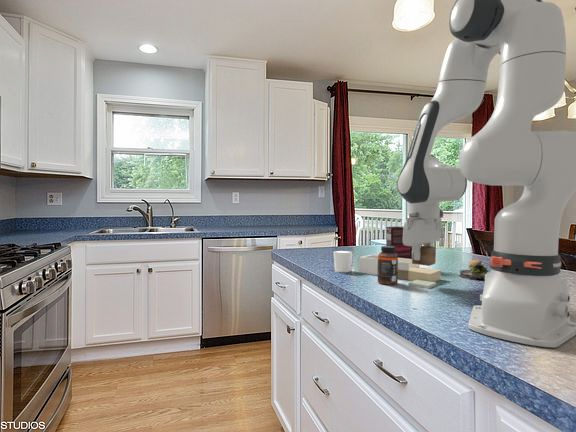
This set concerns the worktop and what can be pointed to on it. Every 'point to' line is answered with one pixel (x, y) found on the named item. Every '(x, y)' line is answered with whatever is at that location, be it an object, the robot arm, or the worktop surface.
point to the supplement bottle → (388, 266)
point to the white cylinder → (342, 261)
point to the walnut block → (426, 256)
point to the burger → (474, 271)
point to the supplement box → (398, 242)
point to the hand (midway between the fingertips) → (421, 258)
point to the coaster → (422, 283)
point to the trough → (400, 269)
